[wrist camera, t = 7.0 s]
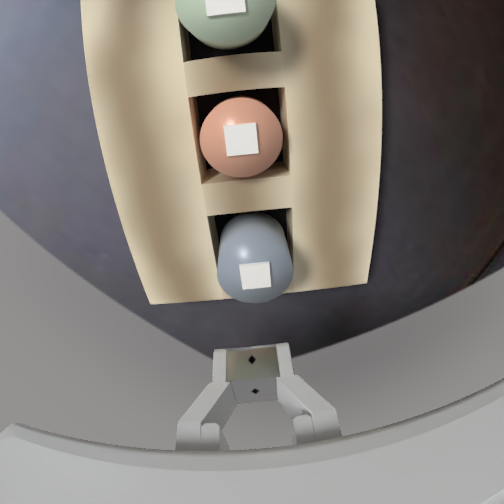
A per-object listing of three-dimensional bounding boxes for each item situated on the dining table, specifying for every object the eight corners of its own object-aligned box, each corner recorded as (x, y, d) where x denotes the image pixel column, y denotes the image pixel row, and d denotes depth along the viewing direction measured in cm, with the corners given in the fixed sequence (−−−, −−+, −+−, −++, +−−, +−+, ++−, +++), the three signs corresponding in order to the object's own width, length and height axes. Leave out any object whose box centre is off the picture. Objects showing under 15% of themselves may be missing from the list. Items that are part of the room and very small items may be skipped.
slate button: (283, 208, 18) (293, 239, 15) (286, 264, 21) (294, 301, 17) (215, 215, 18) (210, 248, 15) (225, 270, 21) (223, 308, 18)
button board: (350, -28, 12) (367, -41, 9) (354, 260, 23) (366, 283, 21) (100, 0, 12) (80, -9, 9) (158, 279, 24) (150, 304, 21)
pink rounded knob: (272, 92, 16) (280, 95, 13) (277, 156, 19) (285, 175, 15) (202, 100, 16) (193, 105, 13) (211, 163, 19) (205, 183, 15)
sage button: (264, -19, 11) (270, -44, 8) (271, 46, 13) (280, 36, 10) (185, -10, 11) (170, -32, 8) (192, 54, 13) (179, 48, 10)
